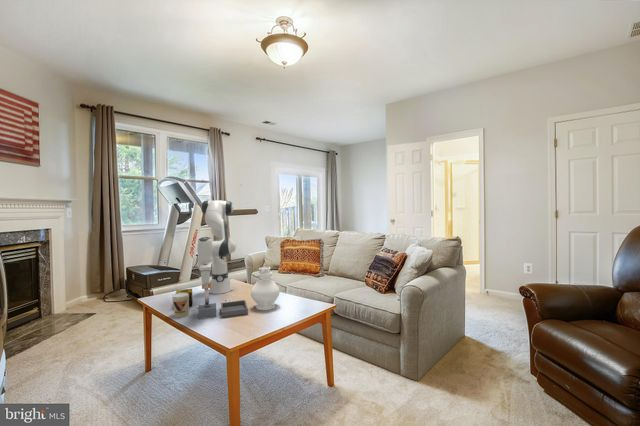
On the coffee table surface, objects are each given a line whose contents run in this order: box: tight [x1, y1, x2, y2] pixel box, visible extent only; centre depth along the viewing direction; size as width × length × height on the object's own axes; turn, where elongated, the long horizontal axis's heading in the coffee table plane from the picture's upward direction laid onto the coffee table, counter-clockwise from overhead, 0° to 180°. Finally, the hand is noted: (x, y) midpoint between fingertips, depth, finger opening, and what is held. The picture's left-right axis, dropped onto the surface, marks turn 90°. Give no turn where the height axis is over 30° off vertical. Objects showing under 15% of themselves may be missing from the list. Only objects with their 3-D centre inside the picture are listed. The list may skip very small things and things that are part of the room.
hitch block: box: [197, 302, 217, 320], centre depth 183 cm, size 10×10×5 cm
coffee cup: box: [172, 293, 190, 318], centre depth 185 cm, size 9×9×12 cm
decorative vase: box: [250, 266, 280, 311], centre depth 195 cm, size 18×18×25 cm
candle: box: [174, 288, 194, 308], centre depth 201 cm, size 10×10×10 cm
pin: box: [201, 282, 211, 305], centre depth 183 cm, size 2×5×12 cm, turn 109°
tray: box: [220, 299, 249, 319], centre depth 188 cm, size 18×15×4 cm
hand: (206, 287), depth 183 cm, fingers closed on pin, 2 cm apart
